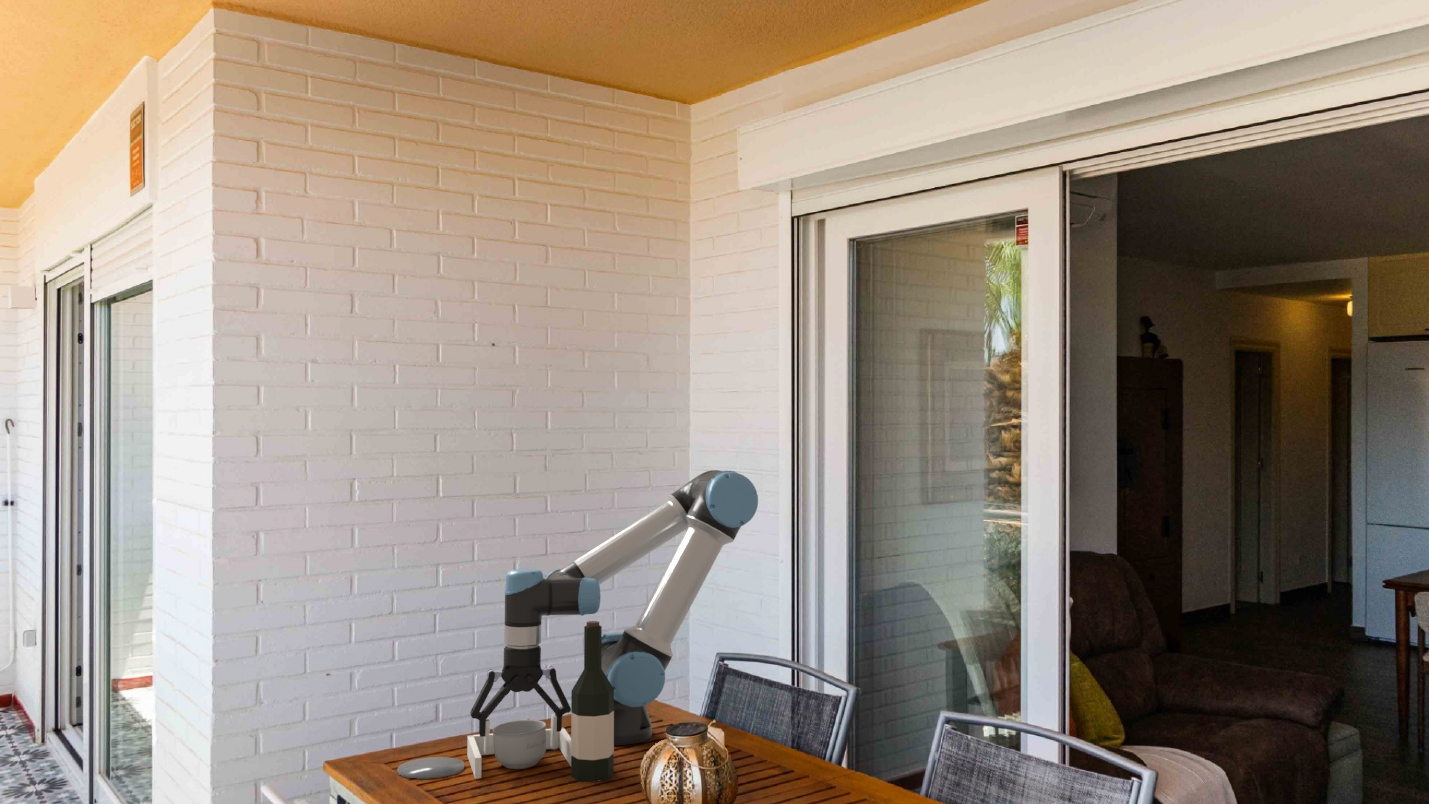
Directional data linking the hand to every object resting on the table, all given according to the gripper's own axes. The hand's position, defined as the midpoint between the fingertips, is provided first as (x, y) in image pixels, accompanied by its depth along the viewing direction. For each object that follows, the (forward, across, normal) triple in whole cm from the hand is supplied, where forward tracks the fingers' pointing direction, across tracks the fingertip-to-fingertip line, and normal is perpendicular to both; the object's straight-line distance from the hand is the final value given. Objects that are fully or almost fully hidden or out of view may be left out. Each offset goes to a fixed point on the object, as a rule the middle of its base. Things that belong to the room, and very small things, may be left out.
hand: (520, 750), depth 222 cm
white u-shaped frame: (+2, 0, 0) cm, 3 cm away
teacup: (+3, 0, 0) cm, 3 cm away
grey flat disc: (+3, +18, -1) cm, 18 cm away
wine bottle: (+2, -12, +13) cm, 18 cm away
